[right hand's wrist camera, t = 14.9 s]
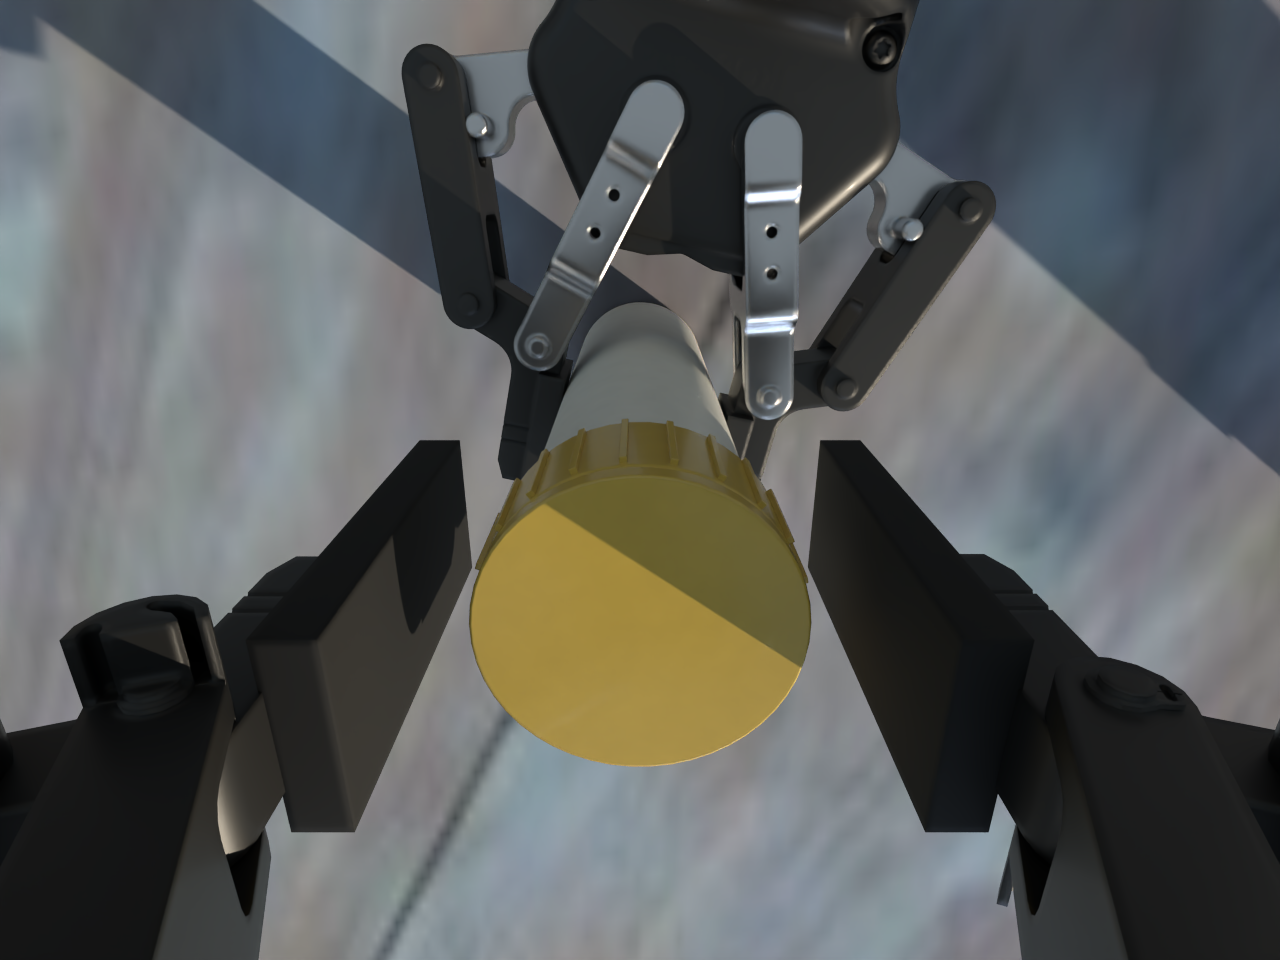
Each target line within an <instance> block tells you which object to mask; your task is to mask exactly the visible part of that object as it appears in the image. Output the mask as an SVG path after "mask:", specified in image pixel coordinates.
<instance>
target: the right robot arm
mask: <svg viewBox="0 0 1280 960" xmlns="http://www.w3.org/2000/svg"><path fill="white" fill-rule="evenodd" d="M471 568H472V562H471V551H470V541H469V531H468V521H467V510H466V500H465V490H464V480H463V470H462V459H461V449H460V440H420V441H419V442H418V443H417V444H416V445H415V446H414V448H413V449H412V450H411V451H410V452H409V453H408V454H407V456H406V457H405V458H404V459H403V460H402V461H401V462H400V464H399V465H398V466H397V467H396V468H395V469H394V470H393V472H392V473H391V474H390V475H389V476H388V477H387V478H386V480H385V481H384V482H383V483H382V484H381V485H380V486H379V488H378V489H377V490H376V491H375V492H374V493H373V494H372V496H371V497H370V498H369V499H368V500H367V501H366V503H365V504H364V505H363V506H362V507H361V508H360V509H359V511H358V512H357V513H356V514H355V515H354V516H353V517H352V519H351V520H350V521H349V522H348V523H347V524H346V525H345V527H344V528H343V529H342V530H341V531H340V532H339V533H338V535H337V536H336V537H335V538H334V539H333V540H332V541H331V543H330V544H329V545H328V546H327V547H326V548H325V549H324V551H323V552H322V553H321V554H320V555H319V556H318V557H295V558H293V559H291V560H289V561H287V562H286V563H284V564H282V565H280V566H279V567H277V568H275V569H273V570H271V571H270V572H268V573H266V574H265V575H264V576H263V578H262V579H261V580H260V581H259V582H258V583H257V584H256V585H255V586H254V587H253V588H252V589H251V590H250V591H249V592H248V596H244V597H243V598H242V599H241V600H240V601H239V602H238V603H237V604H236V605H235V606H234V607H233V608H232V613H228V614H227V615H226V616H225V617H224V618H223V619H222V620H221V621H220V622H219V623H218V624H217V625H216V626H215V627H213V623H212V619H211V616H210V612H209V608H208V605H207V604H206V603H204V602H203V601H201V600H200V599H198V598H197V597H191V596H184V595H163V596H151V597H147V598H143V599H138V600H134V601H129V602H125V603H122V604H119V605H117V606H114V607H112V608H109V609H106V610H104V611H101V612H98V613H96V614H94V615H93V616H91V617H89V618H88V619H86V620H84V621H82V622H81V623H79V624H77V625H75V626H74V627H73V628H72V629H71V630H70V631H69V632H68V633H67V634H66V635H65V636H64V637H63V638H62V639H61V640H60V644H61V646H62V649H63V652H64V655H65V658H66V661H67V663H68V666H69V669H70V672H71V675H72V678H73V680H74V683H75V686H76V689H77V692H78V695H79V697H80V700H81V703H82V706H83V709H82V711H81V713H80V715H79V717H78V719H76V720H72V721H67V722H62V723H56V724H51V725H46V726H41V727H36V728H31V729H26V730H21V731H16V732H10V733H6V732H5V729H4V727H3V724H2V722H1V720H0V960H258V958H259V950H260V942H261V934H262V926H263V918H264V910H265V902H266V894H267V886H268V878H269V870H270V862H271V853H270V847H269V841H268V837H267V833H266V829H265V825H266V824H267V822H268V820H269V819H270V817H271V815H272V814H273V812H274V810H275V808H276V807H277V805H278V803H279V802H280V800H281V798H282V796H283V799H284V803H285V807H286V811H287V816H288V820H289V824H290V828H291V832H355V830H356V828H357V826H358V823H359V821H360V819H361V817H362V814H363V812H364V810H365V808H366V805H367V803H368V801H369V799H370V796H371V794H372V792H373V790H374V787H375V785H376V783H377V781H378V778H379V776H380V774H381V771H382V769H383V767H384V765H385V762H386V760H387V758H388V756H389V753H390V751H391V749H392V747H393V744H394V742H395V740H396V738H397V735H398V733H399V731H400V729H401V726H402V724H403V722H404V720H405V717H406V715H407V713H408V711H409V708H410V706H411V704H412V702H413V699H414V697H415V695H416V693H417V690H418V688H419V686H420V683H421V681H422V679H423V677H424V674H425V672H426V670H427V668H428V665H429V663H430V661H431V659H432V656H433V654H434V652H435V650H436V647H437V645H438V643H439V641H440V638H441V636H442V634H443V632H444V629H445V627H446V625H447V623H448V620H449V618H450V616H451V614H452V611H453V609H454V607H455V604H456V602H457V600H458V598H459V595H460V593H461V591H462V589H463V586H464V584H465V582H466V580H467V577H468V575H469V573H470V571H471ZM808 568H809V571H810V573H811V575H812V577H813V580H814V582H815V584H816V586H817V589H818V591H819V593H820V595H821V598H822V600H823V602H824V604H825V607H826V609H827V611H828V614H829V616H830V618H831V620H832V623H833V625H834V627H835V629H836V632H837V634H838V636H839V638H840V641H841V643H842V645H843V647H844V650H845V652H846V654H847V656H848V659H849V661H850V663H851V665H852V668H853V670H854V672H855V674H856V677H857V679H858V681H859V683H860V686H861V688H862V690H863V693H864V695H865V697H866V699H867V702H868V704H869V706H870V708H871V711H872V713H873V715H874V717H875V720H876V722H877V724H878V726H879V729H880V731H881V733H882V735H883V738H884V740H885V742H886V744H887V747H888V749H889V751H890V753H891V756H892V758H893V760H894V762H895V765H896V767H897V769H898V771H899V774H900V776H901V778H902V781H903V783H904V785H905V787H906V790H907V792H908V794H909V796H910V799H911V801H912V803H913V805H914V808H915V810H916V812H917V814H918V817H919V819H920V821H921V823H922V826H923V828H924V830H925V832H989V828H990V824H991V820H992V816H993V811H994V807H995V803H996V799H997V795H998V794H999V796H1000V798H1001V799H1002V801H1003V803H1004V805H1005V806H1006V808H1007V810H1008V811H1009V813H1010V815H1011V816H1012V818H1013V820H1014V821H1015V823H1016V825H1015V829H1014V833H1013V837H1012V841H1011V845H1010V849H1009V853H1008V857H1007V860H1006V864H1005V868H1004V872H1003V876H1002V880H1001V884H1000V888H999V893H998V899H997V904H999V905H1003V906H1006V907H1007V906H1008V902H1009V898H1010V894H1011V891H1012V890H1013V892H1014V900H1015V908H1016V916H1017V924H1018V932H1019V940H1020V948H1021V956H1022V960H1280V720H1279V722H1278V724H1277V727H1276V729H1275V730H1272V729H1267V728H1261V727H1256V726H1251V725H1246V724H1241V723H1236V722H1231V721H1226V720H1220V719H1215V718H1210V717H1206V716H1202V715H1201V713H1200V711H1199V709H1198V708H1197V706H1196V705H1195V704H1194V703H1193V701H1192V700H1191V699H1190V698H1189V697H1188V695H1187V694H1186V693H1185V692H1184V691H1183V690H1182V689H1180V688H1179V687H1177V686H1176V685H1174V684H1173V683H1171V682H1170V681H1168V680H1167V679H1165V678H1164V677H1163V676H1160V675H1158V674H1156V673H1154V672H1151V671H1149V670H1147V669H1145V668H1142V667H1140V666H1138V665H1135V664H1131V663H1127V662H1124V661H1120V660H1116V659H1112V658H1105V657H1098V656H1097V655H1096V654H1095V653H1094V652H1093V651H1092V650H1091V649H1090V648H1089V647H1088V646H1087V645H1086V644H1085V643H1084V642H1083V641H1082V640H1081V639H1080V638H1079V637H1078V636H1077V635H1076V634H1075V633H1074V632H1073V631H1072V630H1071V629H1070V628H1069V627H1068V626H1067V625H1066V624H1065V623H1064V622H1063V620H1062V619H1061V618H1060V617H1059V616H1058V615H1057V614H1056V613H1055V612H1054V611H1053V610H1049V609H1048V605H1047V604H1046V603H1045V602H1044V601H1043V600H1042V599H1041V598H1040V597H1039V596H1038V595H1037V594H1033V590H1032V589H1031V588H1030V587H1029V586H1028V585H1027V584H1026V583H1025V582H1024V581H1023V580H1022V579H1021V578H1020V576H1019V575H1018V574H1017V573H1016V572H1015V571H1014V570H1012V569H1010V568H1008V567H1006V566H1005V565H1003V564H1001V563H999V562H997V561H996V560H994V559H992V558H990V557H988V556H987V555H985V554H959V553H958V552H957V551H956V549H955V548H954V547H953V546H952V545H951V544H950V543H949V541H948V540H947V539H946V538H945V537H944V536H943V535H942V533H941V532H940V531H939V530H938V529H937V528H936V527H935V525H934V524H933V523H932V522H931V521H930V520H929V519H928V517H927V516H926V515H925V514H924V513H923V512H922V511H921V509H920V508H919V507H918V506H917V505H916V504H915V503H914V501H913V500H912V499H911V498H910V497H909V496H908V494H907V493H906V492H905V491H904V490H903V489H902V488H901V486H900V485H899V484H898V483H897V482H896V481H895V480H894V478H893V477H892V476H891V475H890V474H889V473H888V472H887V470H886V469H885V468H884V467H883V466H882V465H881V464H880V462H879V461H878V460H877V459H876V458H875V457H874V456H873V454H872V453H871V452H870V451H869V450H868V449H867V448H866V446H865V445H864V444H863V443H862V442H861V441H860V440H820V449H819V459H818V470H817V480H816V490H815V500H814V510H813V521H812V531H811V541H810V551H809V562H808Z"/></svg>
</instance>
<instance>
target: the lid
mask: <svg viewBox="0 0 1280 960" xmlns="http://www.w3.org/2000/svg"><path fill="white" fill-rule="evenodd" d="M793 542H795V541H794V539H793V536H792V534H791V532H790V530H789V527H788V525H787V523H786V520H785V518H784V516H783V513H782V511H781V509H780V507H779V504H778V502H777V500H776V497H775V495H774V493H773V491H772V489H770V490H768V491H766V489H765V488H764V486H763V484H762V483H761V481H760V480H759V479H758V477H757V476H756V475H755V474H754V471H753V469H752V466H751V464H750V461H749V460H748V459H747V458H746V457H745V458H744V459H743V460H741V459H740V458H739V457H738V456H737V455H735V454H734V453H733V452H731V451H730V450H728V449H727V448H726V447H724V446H723V445H721V444H719V443H718V442H717V441H716V438H715V436H714V435H712V434H709V435H708V437H707V436H704V435H702V434H699V433H697V432H694V431H692V430H689V429H686V428H682V427H678V426H674V422H673V421H668V420H667V422H666V424H662V423H654V422H629V419H622V422H621V423H619V424H611V425H607V426H603V427H599V428H595V429H591V430H589V431H586V430H585V428H583V429H580V430H578V434H577V435H576V436H574V437H572V438H570V439H568V440H566V441H565V442H563V443H561V444H559V445H558V446H556V447H554V448H553V449H552V450H551V451H548V450H547V449H544V450H543V451H542V452H541V454H540V457H539V459H538V461H537V462H536V463H535V464H534V465H533V466H532V467H531V468H530V469H529V470H528V471H527V473H526V474H525V475H524V477H523V478H522V479H521V480H520V479H518V478H516V479H515V481H514V482H513V484H512V487H511V489H510V491H509V494H508V496H507V498H506V500H505V503H504V505H503V507H502V510H501V512H500V513H498V515H497V517H496V520H495V522H494V524H493V527H492V529H491V531H490V533H489V536H488V538H487V540H486V543H485V545H484V547H483V549H482V552H481V554H480V556H479V559H478V561H477V563H476V567H475V569H477V570H479V573H478V576H477V579H476V581H475V584H474V587H473V592H472V597H471V602H470V616H469V627H470V636H471V644H472V648H473V652H474V655H475V659H476V662H477V665H478V667H479V669H480V672H481V674H482V676H483V679H484V681H485V682H486V684H487V686H488V687H489V689H490V691H491V692H492V694H493V696H494V697H495V698H496V699H497V701H498V702H499V703H500V704H501V706H502V707H503V708H504V709H505V711H506V712H507V713H508V714H510V715H511V716H512V717H513V718H514V719H515V720H516V721H517V722H518V723H519V724H520V725H521V726H523V727H524V728H525V729H527V730H528V731H529V732H531V733H532V734H533V735H535V736H536V737H538V738H540V739H541V740H543V741H545V742H546V743H548V744H550V745H552V746H554V747H556V748H558V749H560V750H563V751H565V752H567V753H569V754H572V755H575V756H578V757H581V758H585V759H588V760H591V761H596V762H601V763H606V764H611V765H621V766H659V765H669V764H675V763H680V762H684V761H689V760H693V759H696V758H699V757H702V756H705V755H708V754H711V753H713V752H716V751H718V750H720V749H722V748H724V747H727V746H729V745H731V744H732V743H734V742H736V741H737V740H739V739H741V738H742V737H744V736H746V735H747V734H748V733H750V732H751V731H752V730H754V729H755V728H756V727H758V726H759V725H760V724H762V723H763V722H764V721H765V720H766V719H767V718H768V717H769V716H770V715H771V714H772V713H773V712H774V711H775V710H776V709H777V707H778V706H779V705H780V704H781V702H782V701H783V700H784V699H785V697H786V696H787V695H788V693H789V691H790V690H791V688H792V686H793V685H794V683H795V681H796V680H797V678H798V675H799V673H800V670H801V668H802V666H803V663H804V661H805V657H806V653H807V649H808V645H809V641H810V631H811V609H810V600H809V595H808V591H807V586H806V583H808V578H807V575H806V573H805V570H804V568H803V566H802V563H801V561H800V559H799V556H798V554H797V552H796V549H795V547H794V545H793Z"/></svg>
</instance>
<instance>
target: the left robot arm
mask: <svg viewBox="0 0 1280 960" xmlns="http://www.w3.org/2000/svg"><path fill="white" fill-rule="evenodd" d="M918 3H919V0H556V1H555V3H554V5H553V7H552V9H551V10H550V12H549V14H548V15H547V16H546V18H545V19H544V20H543V22H542V23H541V24H540V26H539V27H538V28H537V30H536V32H535V34H534V36H533V38H532V40H531V43H530V47H529V49H524V50H513V51H503V52H493V53H482V54H472V55H462V56H454V55H451V54H449V53H448V52H446V51H445V50H444V49H442V48H441V47H438V46H436V45H433V44H421V45H418V46H416V47H414V48H413V49H412V50H410V51H409V53H408V54H407V55H406V57H405V59H404V62H403V65H402V80H403V86H404V91H405V97H406V102H407V108H408V113H409V119H410V124H411V130H412V135H413V141H414V146H415V152H416V157H417V163H418V169H419V174H420V180H421V185H422V191H423V196H424V202H425V207H426V213H427V218H428V224H429V229H430V235H431V240H432V246H433V251H434V257H435V262H436V268H437V273H438V279H439V284H440V290H441V295H442V301H443V306H444V310H445V312H446V314H447V316H448V317H449V319H450V320H451V321H452V322H453V323H455V324H456V325H458V326H460V327H462V328H466V329H475V330H477V331H478V332H480V333H481V334H483V335H485V336H486V337H488V338H490V339H491V340H493V341H495V342H496V343H497V344H499V345H500V346H501V347H502V348H503V349H504V350H505V352H506V353H507V355H508V357H509V359H510V363H511V370H512V371H511V380H510V386H509V392H508V398H507V405H506V411H505V417H504V425H503V430H502V436H501V437H502V438H501V443H500V449H499V455H498V462H499V466H500V470H501V474H502V478H505V479H510V480H515V479H516V478H518V479H520V480H521V479H522V478H523V477H524V475H525V474H526V473H527V471H528V470H529V469H530V468H531V467H532V466H533V465H534V464H535V463H536V462H537V461H538V459H539V457H540V454H541V452H542V451H543V450H544V449H545V447H546V444H547V441H548V438H549V436H550V433H551V430H552V428H553V425H554V422H555V419H556V417H557V414H558V411H559V408H560V406H561V403H562V400H563V398H564V395H565V392H566V389H567V387H568V384H569V379H570V374H571V369H572V364H573V360H569V359H566V356H567V350H568V345H569V341H570V340H571V338H572V336H573V334H574V332H575V330H576V328H577V326H578V324H579V322H580V320H581V318H582V316H583V314H584V313H585V311H586V309H587V307H588V305H589V303H590V301H591V299H592V297H593V295H594V293H595V292H596V290H597V288H598V286H599V284H600V282H601V280H602V278H603V276H604V274H605V273H606V271H607V269H608V267H609V265H610V263H611V261H612V259H613V257H614V255H615V253H616V251H617V249H618V248H619V249H623V250H628V251H632V252H636V253H641V254H645V255H659V254H684V255H686V256H688V257H690V258H692V259H693V260H695V261H697V262H699V263H701V264H703V265H704V266H706V267H708V268H710V269H712V270H715V271H719V272H723V273H728V274H729V293H730V306H731V312H732V331H733V371H734V377H733V380H732V384H731V388H730V391H729V395H728V394H723V393H720V394H719V398H718V402H719V404H720V407H721V410H722V413H723V415H724V418H725V421H726V423H727V426H728V429H729V432H730V434H731V437H732V440H733V443H734V445H735V448H736V451H737V454H738V456H739V458H740V459H741V460H743V459H744V458H745V457H746V458H747V459H748V460H749V461H750V464H751V466H752V469H753V471H754V474H755V475H756V476H757V477H758V479H759V480H760V481H761V477H762V475H763V472H764V469H765V465H766V462H767V459H768V455H769V452H770V449H771V445H772V442H773V439H774V436H775V432H776V430H777V427H778V426H779V424H780V423H781V421H782V420H783V419H784V418H785V417H786V416H788V415H789V414H791V413H793V412H795V411H798V410H802V409H808V408H816V407H824V406H829V407H830V408H832V409H834V410H837V411H849V410H852V409H855V408H856V407H858V406H859V405H861V404H862V403H863V402H864V400H865V399H866V398H867V396H868V395H869V394H870V392H871V391H872V389H873V388H874V386H875V385H876V384H877V382H878V381H879V379H880V378H881V377H882V375H883V374H884V372H885V371H886V369H887V368H888V367H889V365H890V364H891V362H892V361H893V360H894V358H895V357H896V355H897V354H898V352H899V351H900V350H901V348H902V347H903V345H904V344H905V343H906V341H907V340H908V338H909V337H910V335H911V334H912V333H913V331H914V330H915V328H916V327H917V326H918V324H919V323H920V321H921V320H922V319H923V317H924V316H925V314H926V313H927V311H928V310H929V309H930V307H931V306H932V304H933V303H934V302H935V300H936V299H937V297H938V296H939V294H940V293H941V292H942V290H943V289H944V287H945V286H946V285H947V283H948V282H949V280H950V279H951V277H952V276H953V275H954V273H955V272H956V270H957V269H958V268H959V266H960V265H961V263H962V262H963V261H964V259H965V258H966V256H967V255H968V253H969V252H970V251H971V249H972V248H973V246H974V245H975V244H976V242H977V241H978V239H979V238H980V236H981V235H982V234H983V232H984V231H985V229H986V228H987V227H988V225H989V224H990V222H991V220H992V219H993V216H994V213H995V209H996V200H995V196H994V194H993V192H992V190H991V189H990V188H989V187H988V186H987V185H986V184H984V183H982V182H978V181H966V180H955V179H953V178H951V177H949V176H948V175H947V174H945V173H944V172H942V171H941V170H939V169H938V168H936V167H935V166H933V165H932V164H930V163H929V162H927V161H926V160H924V159H923V158H921V157H920V156H918V155H917V154H916V153H914V152H913V151H911V150H910V149H908V148H907V147H905V146H904V145H902V144H901V143H899V142H898V140H899V135H900V117H899V112H898V106H897V97H896V81H897V72H898V67H899V63H900V59H901V56H902V53H903V50H904V47H905V44H906V41H907V38H908V35H909V32H910V29H911V26H912V22H913V19H914V16H915V13H916V9H917V6H918ZM535 100H536V101H537V103H538V105H539V108H540V110H541V112H542V115H543V117H544V119H545V122H546V124H547V126H548V128H549V131H550V133H551V135H552V138H553V140H554V142H555V145H556V147H557V149H558V151H559V154H560V156H561V158H562V161H563V163H564V165H565V168H566V170H567V172H568V175H569V177H570V179H571V181H572V184H573V186H574V188H575V191H576V193H577V195H578V198H579V200H580V202H579V204H578V206H577V208H576V210H575V212H574V214H573V216H572V218H571V220H570V222H569V224H568V226H567V228H566V230H565V232H564V234H563V236H562V238H561V241H560V243H559V245H558V247H557V249H556V251H555V253H554V255H553V257H552V259H551V261H550V264H549V266H548V269H547V272H546V274H545V276H544V278H543V280H542V282H541V284H540V287H539V289H538V291H537V293H536V295H535V297H533V296H532V295H530V294H528V293H527V292H525V291H524V290H522V289H521V288H519V287H517V286H516V285H514V284H513V283H511V282H509V275H508V268H507V262H506V255H505V248H504V241H503V234H502V227H501V221H500V214H499V207H498V200H497V193H496V187H495V180H494V173H493V166H492V159H491V158H497V157H500V156H502V155H504V154H505V153H506V152H508V151H509V149H510V148H511V146H512V144H513V142H514V138H515V123H516V118H517V116H518V114H519V112H520V110H521V109H522V108H523V107H524V106H525V105H526V104H528V103H529V102H532V101H535ZM868 184H869V185H870V186H871V188H872V190H873V193H874V201H875V203H874V208H873V212H872V214H871V216H870V218H869V220H868V224H867V236H868V239H869V241H870V243H871V244H872V245H873V246H874V247H875V250H874V251H873V253H872V254H871V256H870V257H869V259H868V260H867V262H866V263H865V265H864V266H863V268H862V270H861V271H860V273H859V274H858V276H857V277H856V279H855V280H854V282H853V283H852V285H851V286H850V288H849V289H848V291H847V292H846V294H845V295H844V297H843V298H842V300H841V301H840V303H839V304H838V306H837V307H836V309H835V310H834V312H833V313H832V315H831V317H830V318H829V320H828V321H827V323H826V324H825V326H824V327H823V329H822V330H821V332H820V333H819V335H818V336H817V338H816V339H815V341H814V342H813V344H812V345H811V347H810V348H809V349H808V350H800V351H794V328H795V325H796V323H797V319H798V303H799V244H800V243H801V242H802V241H804V240H805V239H806V238H807V237H808V236H809V235H811V234H812V233H813V232H814V231H815V230H816V229H817V228H819V227H820V226H821V225H822V224H823V223H824V222H826V221H827V220H828V219H829V218H830V217H831V216H832V215H834V214H835V213H836V212H837V211H838V210H839V209H840V208H842V207H843V206H844V205H845V204H846V203H847V202H849V201H850V200H851V199H852V198H853V197H854V196H855V195H857V194H858V193H859V192H860V191H861V190H862V189H864V188H865V187H866V186H867V185H868Z"/></svg>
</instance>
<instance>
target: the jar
mask: <svg viewBox="0 0 1280 960" xmlns="http://www.w3.org/2000/svg"><path fill="white" fill-rule="evenodd" d="M622 419H629V422H654V423H662V424H666V422H667V420H668V421H673V422H674V426H678V427H682V428H686V429H689V430H692V431H694V432H697V433H699V434H702V435H704V436H707V437H708V435H709V434H712V435H714V436H715V438H716V441H717V442H718V443H719V444H721V445H723V446H724V447H726V448H727V449H728V450H730V451H731V452H733V453H734V454H735V455H737V456H738V454H737V451H736V448H735V445H734V443H733V440H732V437H731V434H730V432H729V429H728V426H727V423H726V421H725V418H724V415H723V413H722V410H721V407H720V404H719V402H718V399H717V396H716V393H715V391H714V388H713V385H712V382H711V380H710V377H709V374H708V372H707V369H706V366H705V363H704V361H703V358H702V355H701V352H700V350H699V347H698V344H697V342H696V339H695V336H694V335H693V333H692V331H691V329H690V328H689V327H688V325H687V324H686V323H685V322H684V321H683V320H682V319H681V318H680V317H679V316H678V315H677V314H675V313H674V312H672V311H671V310H669V309H667V308H665V307H662V306H660V305H656V304H652V303H645V302H635V303H628V304H624V305H621V306H618V307H616V308H613V309H612V310H610V311H608V312H607V313H605V314H604V315H603V316H601V317H600V318H599V319H598V320H597V321H596V322H595V323H594V325H593V326H592V327H591V329H590V330H589V332H588V334H587V336H586V338H585V340H584V343H583V346H582V348H581V351H580V354H579V356H578V359H577V362H576V365H575V367H574V370H573V373H572V376H571V378H570V381H569V384H568V387H567V389H566V392H565V395H564V398H563V400H562V403H561V406H560V408H559V411H558V414H557V417H556V419H555V422H554V425H553V428H552V430H551V433H550V436H549V438H548V441H547V444H546V447H545V449H547V450H548V451H551V450H552V449H553V448H554V447H556V446H558V445H559V444H561V443H563V442H565V441H566V440H568V439H570V438H572V437H574V436H576V435H577V434H578V430H580V429H583V428H585V430H586V431H589V430H591V429H595V428H599V427H603V426H607V425H611V424H619V423H621V422H622ZM738 457H739V456H738Z"/></svg>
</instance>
